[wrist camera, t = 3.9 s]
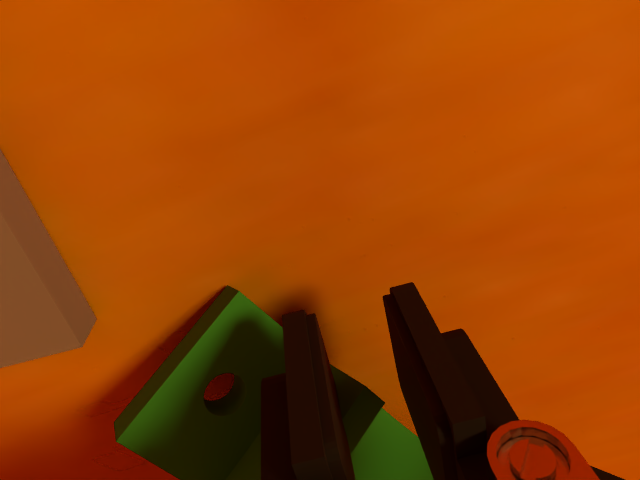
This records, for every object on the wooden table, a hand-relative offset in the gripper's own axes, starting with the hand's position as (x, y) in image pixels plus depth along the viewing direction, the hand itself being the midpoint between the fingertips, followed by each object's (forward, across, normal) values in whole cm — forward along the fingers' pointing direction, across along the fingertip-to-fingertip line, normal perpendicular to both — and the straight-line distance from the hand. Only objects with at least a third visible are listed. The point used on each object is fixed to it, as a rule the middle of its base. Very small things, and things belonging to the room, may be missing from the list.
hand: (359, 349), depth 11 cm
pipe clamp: (+1, -1, +1) cm, 2 cm away
